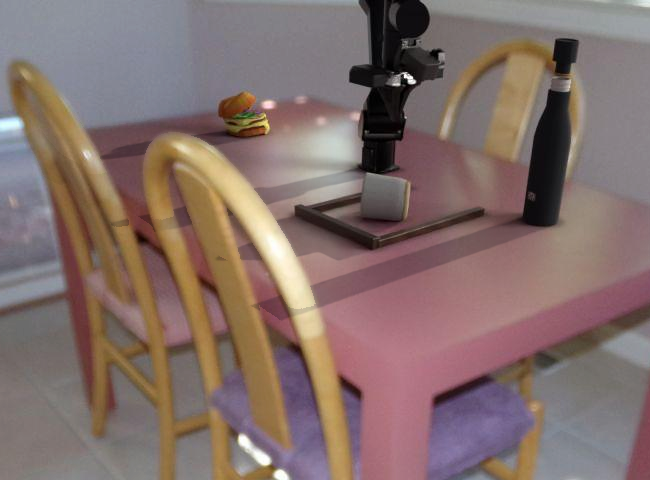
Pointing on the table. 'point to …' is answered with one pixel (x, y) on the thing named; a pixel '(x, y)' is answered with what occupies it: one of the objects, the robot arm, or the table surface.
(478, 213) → the brown wooden flat frame
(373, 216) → the ceramic mug
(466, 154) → the table surface
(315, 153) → the table surface
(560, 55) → the black bottle
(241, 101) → the cheeseburger
